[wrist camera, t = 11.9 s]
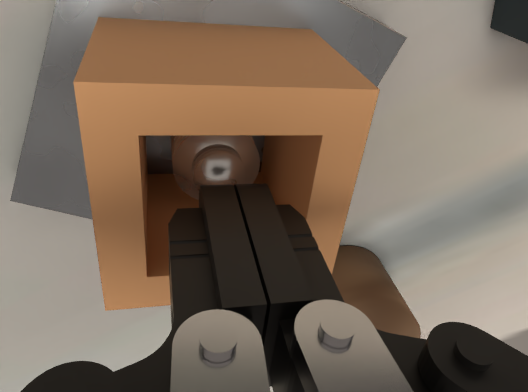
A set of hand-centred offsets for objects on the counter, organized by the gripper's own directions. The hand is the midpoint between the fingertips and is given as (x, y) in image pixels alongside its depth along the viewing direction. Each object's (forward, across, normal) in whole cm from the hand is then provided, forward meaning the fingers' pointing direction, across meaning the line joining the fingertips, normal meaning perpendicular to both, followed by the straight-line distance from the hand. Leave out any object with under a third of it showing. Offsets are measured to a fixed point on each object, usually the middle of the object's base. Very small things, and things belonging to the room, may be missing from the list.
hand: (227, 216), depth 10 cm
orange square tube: (+5, 0, 0) cm, 5 cm away
